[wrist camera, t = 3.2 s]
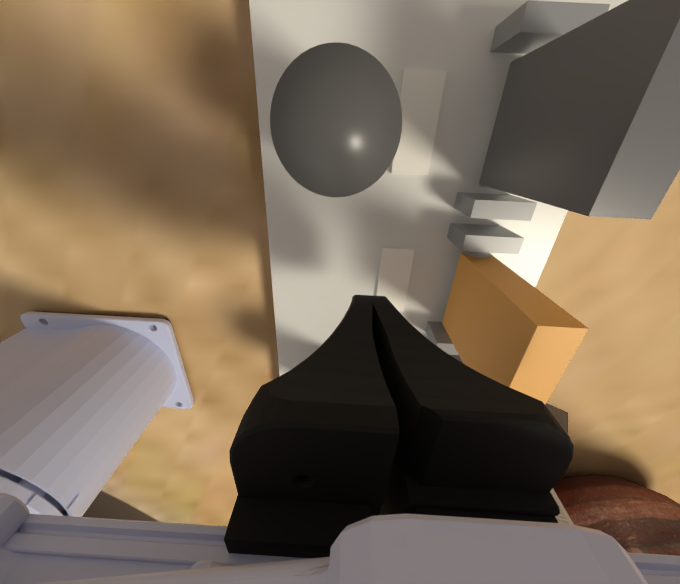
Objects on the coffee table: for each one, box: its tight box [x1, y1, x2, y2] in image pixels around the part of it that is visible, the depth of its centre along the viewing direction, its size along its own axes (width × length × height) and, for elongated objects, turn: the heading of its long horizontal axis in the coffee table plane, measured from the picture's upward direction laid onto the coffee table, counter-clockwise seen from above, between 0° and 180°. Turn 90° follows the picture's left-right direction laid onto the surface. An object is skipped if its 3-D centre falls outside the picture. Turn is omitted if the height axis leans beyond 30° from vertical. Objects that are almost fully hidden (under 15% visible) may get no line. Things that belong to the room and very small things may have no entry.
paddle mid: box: [442, 251, 588, 404], centre depth 11 cm, size 1×4×7 cm, turn 178°
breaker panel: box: [249, 0, 628, 376], centre depth 12 cm, size 14×24×7 cm, turn 177°
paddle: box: [479, 0, 680, 219], centre depth 8 cm, size 1×4×7 cm, turn 177°
